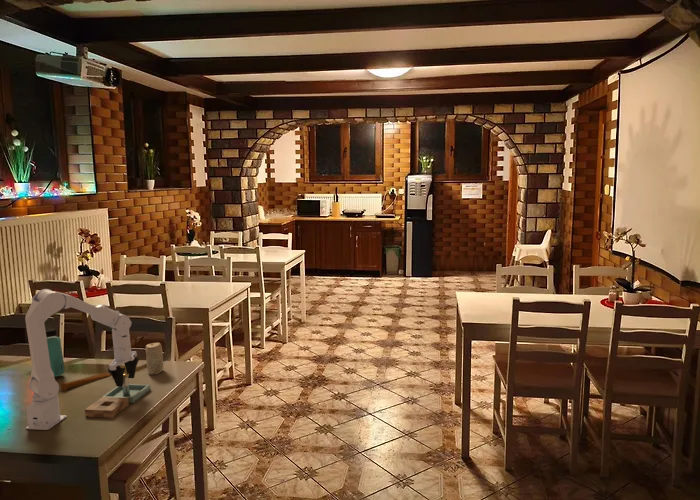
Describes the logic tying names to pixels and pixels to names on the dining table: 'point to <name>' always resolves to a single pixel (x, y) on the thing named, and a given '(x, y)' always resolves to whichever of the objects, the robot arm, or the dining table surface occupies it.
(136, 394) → the tray
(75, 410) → the dining table surface
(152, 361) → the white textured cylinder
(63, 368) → the beverage bottle
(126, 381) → the pin
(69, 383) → the primitive tool
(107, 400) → the socket block
